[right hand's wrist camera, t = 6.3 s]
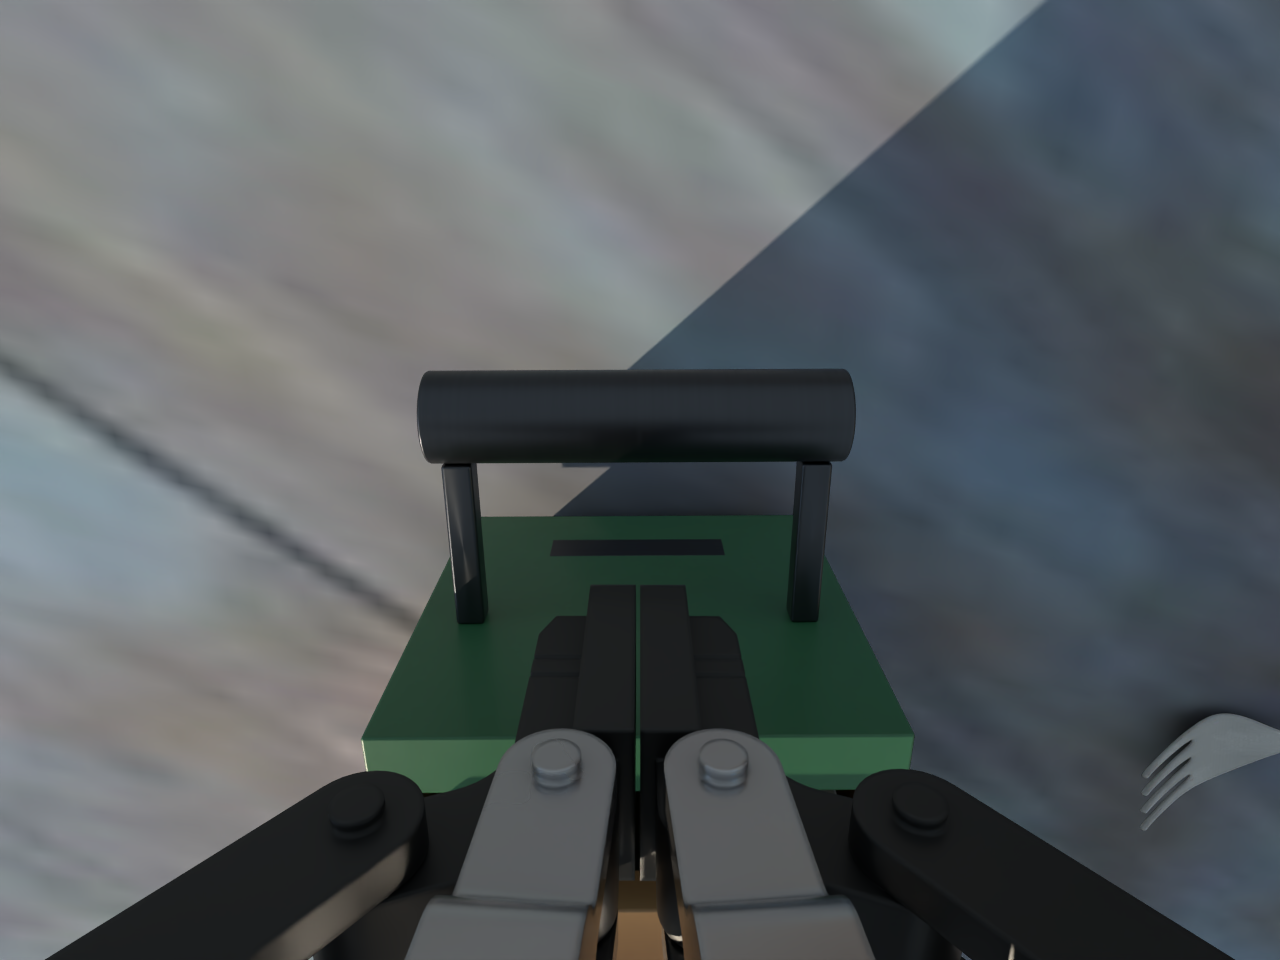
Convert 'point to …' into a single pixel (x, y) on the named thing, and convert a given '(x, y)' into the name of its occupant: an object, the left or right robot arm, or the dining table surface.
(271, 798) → the dining table surface
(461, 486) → the drawer
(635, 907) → the open wooden box
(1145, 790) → the fork
